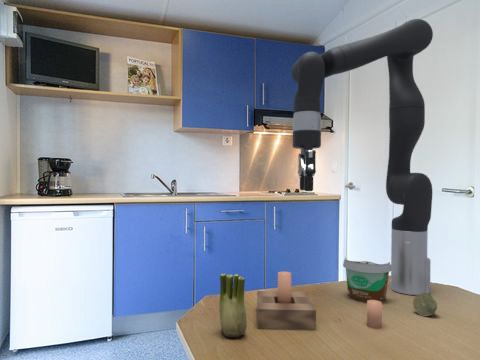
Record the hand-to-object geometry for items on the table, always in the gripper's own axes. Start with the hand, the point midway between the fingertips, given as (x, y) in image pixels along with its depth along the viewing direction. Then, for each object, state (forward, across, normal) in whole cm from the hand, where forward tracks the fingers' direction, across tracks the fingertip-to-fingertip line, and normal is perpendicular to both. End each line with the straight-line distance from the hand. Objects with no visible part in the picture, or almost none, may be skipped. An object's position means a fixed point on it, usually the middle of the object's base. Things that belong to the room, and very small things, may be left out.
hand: (306, 190), depth 96 cm
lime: (+28, -12, -26) cm, 40 cm away
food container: (+28, -3, -15) cm, 32 cm away
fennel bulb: (+28, -25, +18) cm, 42 cm away
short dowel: (+28, -19, -12) cm, 36 cm away
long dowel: (+28, -16, +7) cm, 33 cm away
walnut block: (+28, -16, +7) cm, 33 cm away
